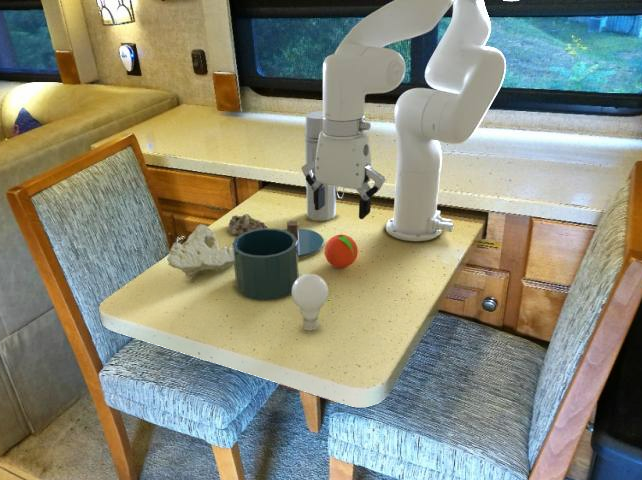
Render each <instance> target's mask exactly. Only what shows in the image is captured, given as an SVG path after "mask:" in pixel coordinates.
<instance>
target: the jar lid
mask: <svg viewBox="0 0 642 480" xmlns="http://www.w3.org/2000/svg"><path fill="white" fill-rule="evenodd" d="M299 226H300V225H299V221H297V220H290V221H289V220H288V221H287V222H286V228H284V229H282V230H286V231H288V232H290V233H292V234H294V235H295V237H296V239H297V242H298V259H299V258H304V257H308V256H312V255H315V254H316V253H318V252H319V251H320V250H322V248H323V247H324V243H325V241H324V237H323V236H322V234H320V233H318V232H317V231H314V230H311V229H309V228H300V227H299Z"/></svg>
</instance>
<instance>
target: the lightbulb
mask: <svg viewBox="0 0 642 480" xmlns="http://www.w3.org/2000/svg"><path fill="white" fill-rule="evenodd" d="M328 297H329V288H328V284H327V283H326V281H325V279H324V278H323V277H321V276H319V275H317V274H315V273H304V274H302V275H299V278H297V279H296V281H295V282H294V284H293V286H292V291H291V298H292V300H293V302H294V304H295V305H296V307H298V308H299V310H300V314H301V316H302V327H303V329H304V330H306V331H310V332H311V331H315V330H317V329H318V328H319V315H320V314H321V313H320V312H321V309H322V308H323V307H324V305H325V303H326V302H327V300H328Z"/></svg>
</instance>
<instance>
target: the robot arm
mask: <svg viewBox="0 0 642 480" xmlns="http://www.w3.org/2000/svg"><path fill="white" fill-rule="evenodd" d="M504 1H505V2H506V1H507V2H517V1H519V0H504ZM451 6H452V16H451V19H450V23H449V25H448V26H447V29H446V31H445V32H444V34H443V36H442V37H441V39H440V41H439V43H438V44H437V46H436V48H435V49H434V52H433V53H432V55H431V57H430V58H429V60H428V61H427V65H426V67H425V70H424V79H425V82H426V83H427V85H428V86H429V87H431V88H432V89H431V88H425V87H415V88H411V89H408V90H406V91H404V92H403V93H402V94H401V95H400V96H399V97H398V99H397V101H396V103H395V106H394V113H393V114H394V119H393V120H394V126H395V132H396V166H395V167H396V168H395V182H394V183H395V185H394V186H395V187H394V199H393V200H394V202H393V203H394V204H393V217H391V218H390V219H388V221H387V222H386V223H385V230H386V233H388V234H389V235H390V236H391V237H393V238H395V239H397V240H402V241H406V242H425V241H430V240H433V239H435V238H438V237H439V236H440V235H441V234H442V231H443V232H448V233H453V232H454V228H455V224H454V223H452V222H453V220H452V219H450V218H443V216H441V210H438V202H439V201H438V200H439V192H440V191H439V190H440V181H441V170H442V161H443V155H442V154H443V153H442V149H441V144H440V142H441V143H444V144H450V145H455V146H457V145H462V144H465V143H467V142H468V141H469V140H470V139H471V138H472V137H473V135H474V134H475V133H476V131H477V129H478V128H479V126H480V124H481V123H482V121H483V119H484V117H485V116H486V114H487V112H488V110H489V109H490V107H491V105H492V104H493V102H494V101H495V99H496V96H497V95H498V93H499V91H500V89H501V87H502V85H503V82H504V79H505V75H506V67H507V64H506V58H505V56H504V54H503V52H501V51H500V50H499V49H497V48H495V47H491V46H486V43H487V41H488V40H489V38H490V34H491V31H492V27H491V21H490V20H491V19H490V17H489V15H488V12H487V8H486V6H485V1H484V0H392V1H390V2H389V3H386V4H385V5H383V6H381V7H380V8H379V9H377V10H375V11H373V12H371V13H370V14H368V15H367V16H365V17H364V18H363V19H361V20H360V21H359V22H357V23H356V24H355V25H354V26H353V27H352V28H351V30H349V32H348V33H347V34H346V36H345V37H344V38H343V39H342V41H341V42H340V43H339V45H338V46H337V48H336V49H335V51H334V53H332V54H330V55H327V56H326V57H325V58H324V60H323V62H322V111H323V131H321V132H320V135H319V140H318V145H317V152H316V160H315V161H312V162H310V163H308V164H306V163H305V164H304V165H301V171H302V173H303V175H304V177H305V182H306V181H307V182H308V183H309V185H310V186H311V190H312V191H314V204H315V210H319V209H321V208H322V207H323V206H325V187H323V184H326V185H332V186H336V188H337V187H338V188H343V189H351V190H356V192H357V193H358V195H359V196H360V197H361V198H360V199H359V202H358V219H360V220H364V219H365V218H366V217H367V216H368V215H369V214H370V213H371V210H372V208H371V207H372V197H373V196H374V195H375V194H377V193H378V192H379V191H380V190H381V188H382V187H383V185H384V183H385V182H386V177H385V176H384V175H382V174H381V173H379V172H378V171H377V170H375V169H374V168H373V167H372V154H371V144H370V139H369V138H370V137H369V133H368V132H365V131H370V130H371V127H372V126H371V125H372V124H371V122H367V121H366V117H365V104H366V103H365V102H366V101H365V99H366V95H370V94H384V93H388V92H391V91H393V90H395V89H396V88H398V87H399V85H401V83H402V82H403V80H404V78H405V75H406V69H407V67H406V61H405V58H404V57H403V56H402V54H400V53H399V52H398V51H397V50H395V49H391V48H387V47H386V46H388V45H392V44H394V43H397V42H401V41H405V40H409V39H413V38H417V37H418V36H419V37H420V36H422V35H424V34H427V33H429V32H431V31H432V30H434V28H436V26H437V24H438V23H439V22H440V21H441V19H442V18H443V17H444V15H445V14H446V13H447V12H448V10H449V9H450V8H451ZM313 168H315V174H316V177H315V175H314V174H312V169H313ZM371 180H372V181H373V182H374V184H373V186H372V187H371V186H370V184H369V182H371Z"/></svg>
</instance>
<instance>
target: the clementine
mask: <svg viewBox="0 0 642 480" xmlns="http://www.w3.org/2000/svg"><path fill="white" fill-rule="evenodd" d="M358 249H359V248H358V245H357V243H356V241H355V239H353V238H352V237H350V236H348V235H347V234H336V235H334V236H331V238H330V239H328V241H327V242H326V244H325V245H324V257H325V260H326V261H327V262H328V263H329V265H331V266H333V267H334V268H337V269H345V268H347V267H350V266H352V264H354V263H355V261H356V260H357V257H358V254H359V253H358V252H359V250H358Z"/></svg>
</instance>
